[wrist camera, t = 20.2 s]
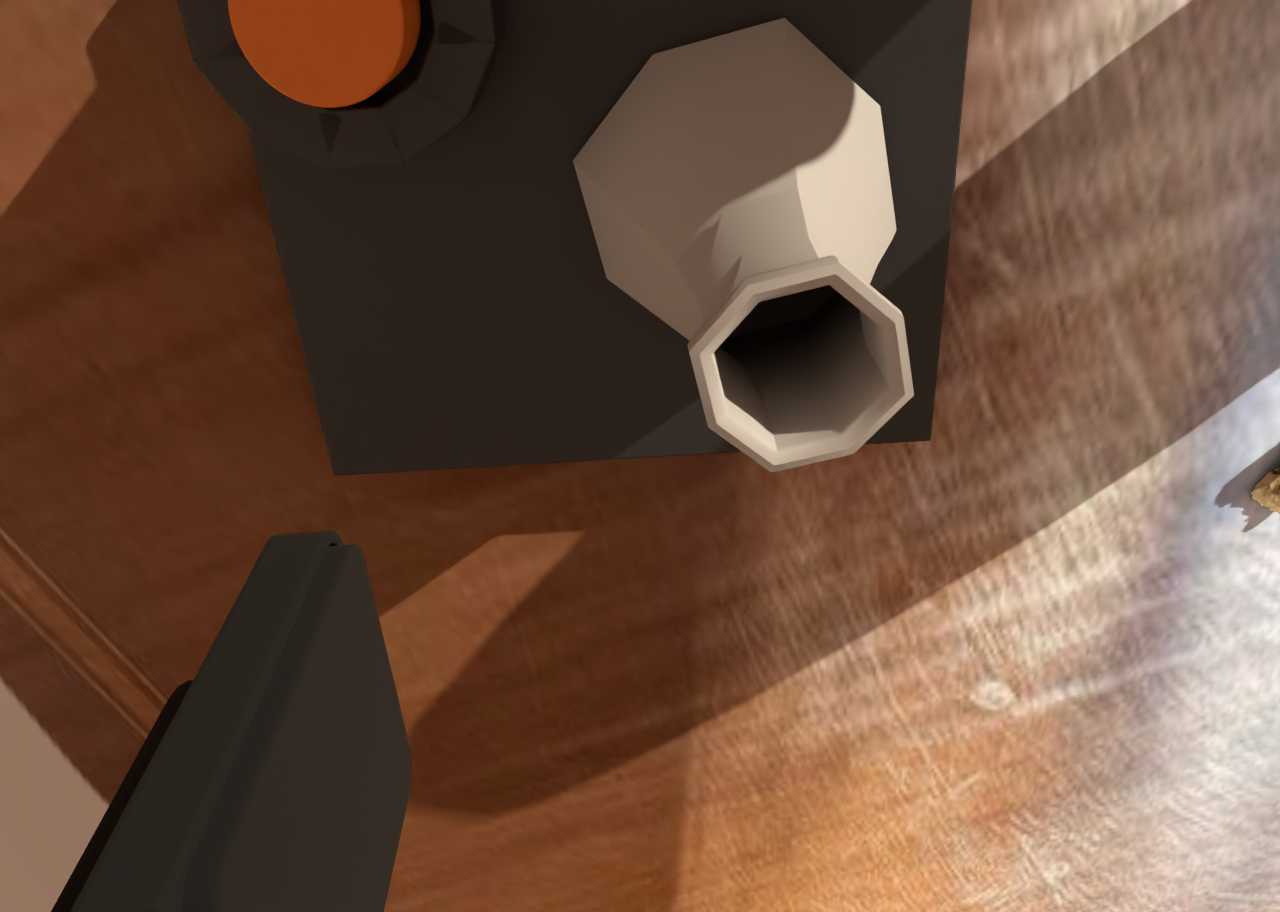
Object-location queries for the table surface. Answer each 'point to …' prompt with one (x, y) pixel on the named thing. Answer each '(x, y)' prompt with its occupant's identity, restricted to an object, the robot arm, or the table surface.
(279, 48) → the button
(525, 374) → the scale
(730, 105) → the flask
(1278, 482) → the fossil
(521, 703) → the table surface
